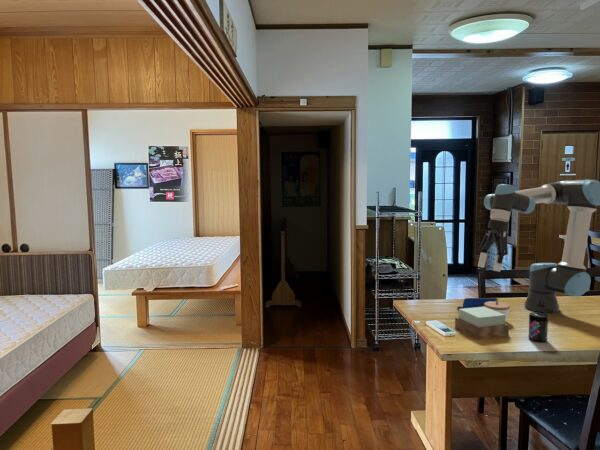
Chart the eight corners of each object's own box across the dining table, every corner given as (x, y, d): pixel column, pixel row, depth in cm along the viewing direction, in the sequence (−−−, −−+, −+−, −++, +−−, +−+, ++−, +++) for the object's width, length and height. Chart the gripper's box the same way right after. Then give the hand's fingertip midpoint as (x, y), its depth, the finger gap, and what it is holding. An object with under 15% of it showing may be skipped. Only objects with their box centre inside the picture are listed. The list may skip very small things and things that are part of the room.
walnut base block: (484, 325, 192) (484, 314, 192) (508, 336, 178) (508, 324, 177) (454, 328, 188) (455, 317, 188) (477, 340, 174) (477, 328, 173)
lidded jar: (510, 319, 198) (510, 299, 198) (508, 326, 189) (508, 305, 188) (485, 316, 204) (485, 296, 203) (482, 322, 195) (482, 302, 194)
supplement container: (527, 336, 177) (528, 311, 176) (546, 338, 174) (547, 313, 173) (528, 341, 170) (529, 316, 169) (548, 343, 168) (549, 317, 167)
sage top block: (483, 315, 190) (484, 306, 190) (505, 324, 178) (505, 314, 178) (458, 317, 187) (458, 309, 186) (478, 327, 174) (478, 317, 174)
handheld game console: (488, 309, 216) (488, 291, 215) (498, 317, 202) (498, 298, 201) (456, 308, 217) (456, 290, 216) (464, 317, 204) (464, 297, 203)
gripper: (477, 218, 195) (467, 264, 195) (506, 218, 170) (494, 270, 170) (492, 222, 195) (482, 267, 195) (524, 222, 170) (512, 274, 171)
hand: (488, 269), depth 183 cm, fingers open, 13 cm apart
